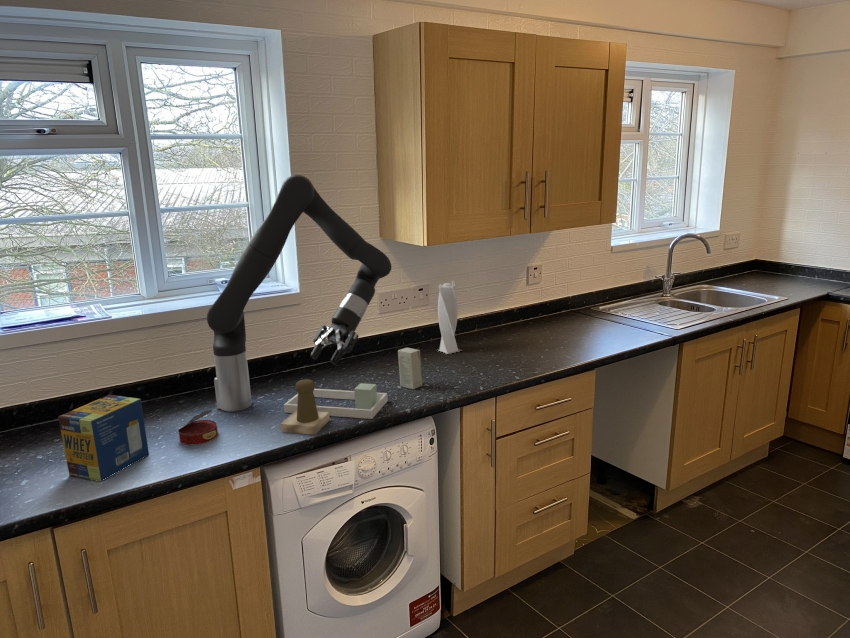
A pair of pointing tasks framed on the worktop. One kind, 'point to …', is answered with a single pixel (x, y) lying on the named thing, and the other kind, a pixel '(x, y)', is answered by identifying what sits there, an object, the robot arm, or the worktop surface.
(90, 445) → the protein box
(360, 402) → the sage block
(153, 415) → the worktop surface
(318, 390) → the white rectangular frame
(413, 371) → the skincare box
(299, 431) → the board
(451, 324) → the skyscraper
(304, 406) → the olive pawn
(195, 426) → the canned food
